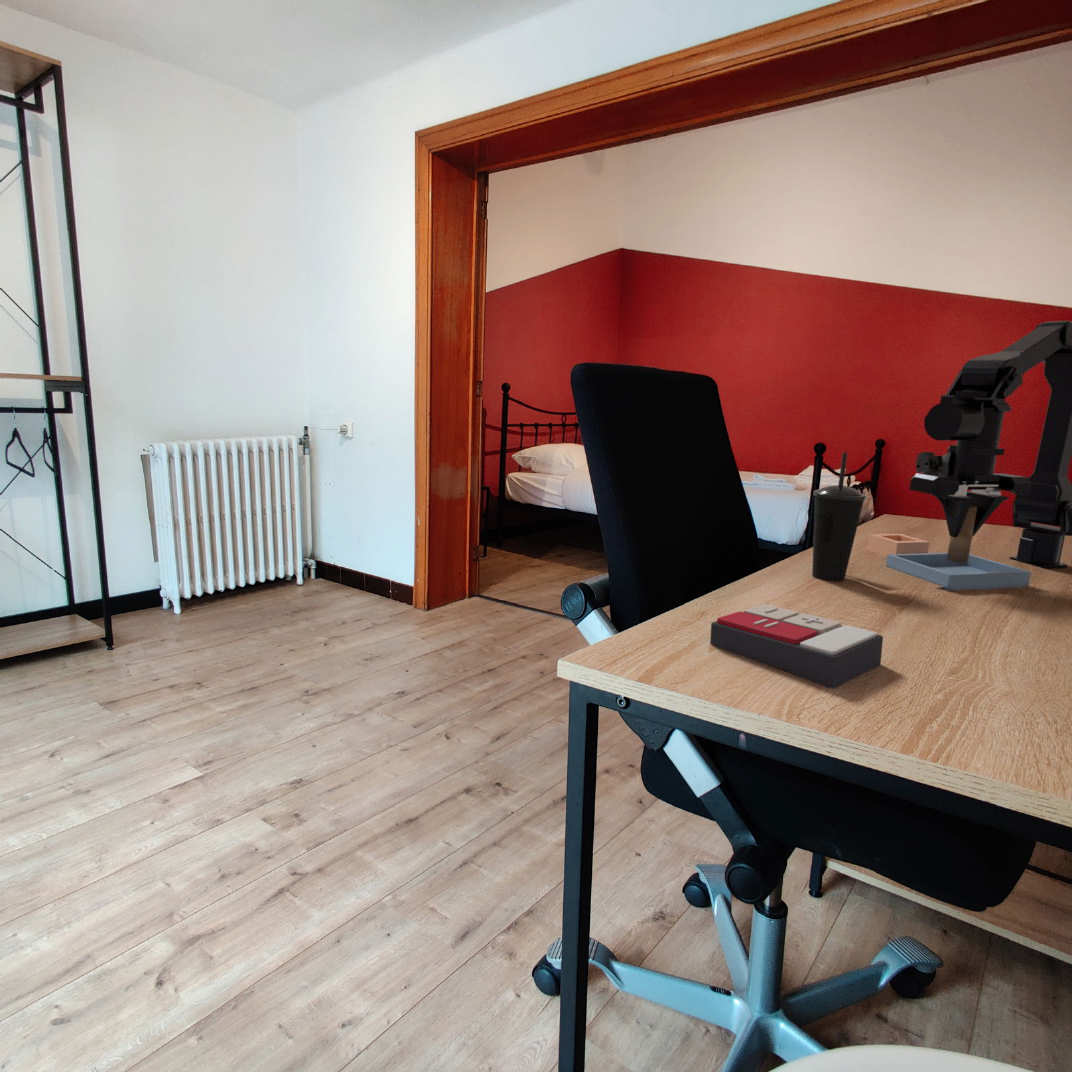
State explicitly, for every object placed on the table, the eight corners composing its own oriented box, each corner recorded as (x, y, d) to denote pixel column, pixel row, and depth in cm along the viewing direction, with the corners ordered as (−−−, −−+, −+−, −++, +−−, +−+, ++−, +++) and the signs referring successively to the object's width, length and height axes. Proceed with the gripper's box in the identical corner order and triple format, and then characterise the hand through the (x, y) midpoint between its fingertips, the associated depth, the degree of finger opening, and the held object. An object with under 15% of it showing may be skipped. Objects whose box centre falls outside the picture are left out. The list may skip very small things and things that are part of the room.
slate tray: (960, 565, 124) (962, 552, 124) (1028, 586, 112) (1031, 571, 111) (885, 568, 120) (887, 554, 119) (946, 590, 108) (949, 575, 107)
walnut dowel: (957, 557, 117) (966, 504, 115) (972, 562, 114) (981, 507, 112) (942, 558, 116) (951, 504, 114) (957, 562, 113) (966, 508, 112)
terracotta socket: (897, 551, 134) (900, 533, 133) (926, 560, 127) (929, 542, 126) (866, 552, 132) (869, 534, 131) (894, 561, 125) (897, 542, 124)
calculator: (763, 600, 88) (885, 629, 76) (761, 633, 88) (881, 666, 77) (709, 616, 81) (835, 650, 69) (708, 651, 82) (832, 691, 70)
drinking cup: (862, 584, 109) (881, 456, 105) (813, 582, 109) (829, 454, 105) (842, 572, 117) (859, 451, 112) (796, 569, 117) (811, 449, 112)
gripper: (981, 437, 121) (965, 525, 124) (891, 435, 116) (877, 527, 120) (1041, 443, 111) (1023, 539, 114) (945, 441, 106) (929, 542, 109)
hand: (961, 536), depth 114 cm, fingers closed on walnut dowel, 3 cm apart
